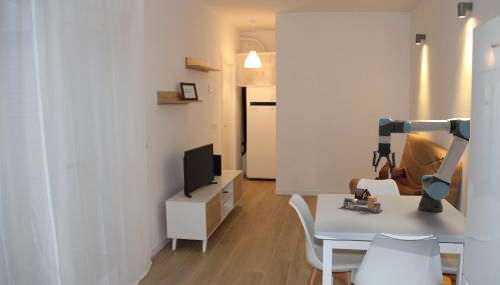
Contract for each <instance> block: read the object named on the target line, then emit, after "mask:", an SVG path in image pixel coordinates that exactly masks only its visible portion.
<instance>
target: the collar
mask: <svg viewBox="0 0 500 285" xmlns="http://www.w3.org/2000/svg"><path fill="white" fill-rule="evenodd" d="M377 201H378V200H377V196H375V195H371V196H368V205H367V208H369V209H376V206H374V202H377Z"/></svg>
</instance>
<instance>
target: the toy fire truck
mask: <svg viewBox="0 0 500 285" xmlns="http://www.w3.org/2000/svg"><path fill="white" fill-rule="evenodd" d="M353 192H354V195H353V196H354V198H353V199H357V200H363V201H368V197H369V196H372V194H371V192H370V191H369V189H368V188H365V189H364V188H360V187H354V188H353Z"/></svg>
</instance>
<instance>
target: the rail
mask: <svg viewBox="0 0 500 285" xmlns="http://www.w3.org/2000/svg"><path fill="white" fill-rule="evenodd" d="M349 203H352V204H357V205H352V204H349ZM358 204H360V205H367V206H366V207H365V206H359V205H358ZM374 206H376V208H375V209H369V208H368V201H363V200H357V199H354V198H347V197H344V199H343V205H342V206H341V207H340V208H341V209H345V210H352V211H357V212H359V211H360V212H363V213H364V212H366V213H371V214H377V215H379V214H381V213H382V212H383V211H384V210H383V209H382V207H381V203H380V202H374Z"/></svg>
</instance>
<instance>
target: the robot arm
mask: <svg viewBox="0 0 500 285" xmlns="http://www.w3.org/2000/svg"><path fill="white" fill-rule="evenodd" d="M470 119H471V118H466V117H460V118H447V119H446V120H413V119H412V120H401V119H400V120H399V119H395V120H393V121H392V119H391V118H387V117H383V118H380V119H379V120H378V121H379V122H378V139H377V140H378V143H377V144H378V145H377V146H378V147H377V150H373V152H372V153H373V158H372V165H371V166H373V167H374V172H375V173H376V174H375V175H376V176H375V177H376V178H379V176H380V174H379V173H380V167H379V164H380V162H381V160H382V158H386V160H387V164H388V166H389V168H388V176H387V177H388V178H387V179H391V178H392V174H393V172H394V171H393V169H395V168H396V167H397V166H396V165H397V164H396V157H395V156H396V152H395V151H392V150H391V145H392V144H391V141H392V139H391V138H392V134H410V133H446V134H448V135H449V134H450V135H452V138H453V139H452V142H451V143H450V146H449V148H448V150H447V151H446V154H445V156H444V158H443V159H442V162H441V164H440V166H439V168H438V170H437V172H436V173H433V174H431V175H429V174H425V175H423V176H422V178H421V181H422V182H421V198H420V201H419V203H418V210H421V211H423V212H430V213H440V212H443V211H444V207H443V202H442V200H444V199H445V198H447V197H448V196H449V193H450V187H451V184H452V181H451V178H452V177H453V174H454V172H455V171H456V168H457V167H458V165H459V163H460V161H461V158H462V157H463V155H464V153H465V151H466V148H467V146H468V145H470V144H469V138H470ZM377 155H378V158H377ZM390 155H391V157H390Z"/></svg>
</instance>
